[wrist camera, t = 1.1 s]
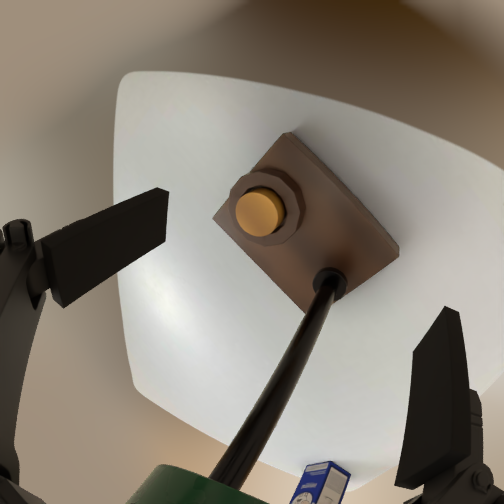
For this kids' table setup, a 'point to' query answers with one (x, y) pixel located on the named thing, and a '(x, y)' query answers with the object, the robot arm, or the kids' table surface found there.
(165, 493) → the lamp
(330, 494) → the milk carton
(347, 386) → the kids' table surface
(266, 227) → the lamp switch
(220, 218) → the lamp base
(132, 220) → the robot arm
